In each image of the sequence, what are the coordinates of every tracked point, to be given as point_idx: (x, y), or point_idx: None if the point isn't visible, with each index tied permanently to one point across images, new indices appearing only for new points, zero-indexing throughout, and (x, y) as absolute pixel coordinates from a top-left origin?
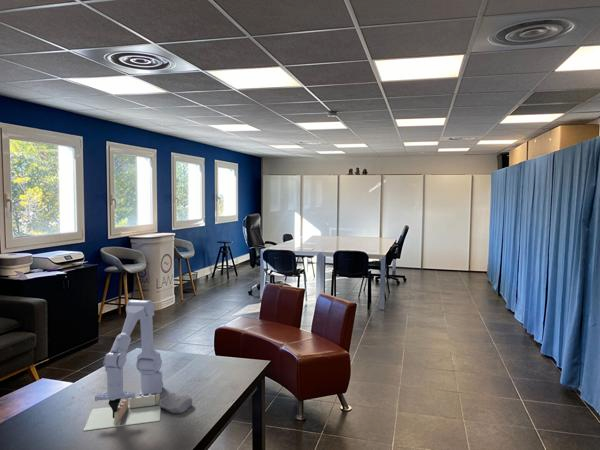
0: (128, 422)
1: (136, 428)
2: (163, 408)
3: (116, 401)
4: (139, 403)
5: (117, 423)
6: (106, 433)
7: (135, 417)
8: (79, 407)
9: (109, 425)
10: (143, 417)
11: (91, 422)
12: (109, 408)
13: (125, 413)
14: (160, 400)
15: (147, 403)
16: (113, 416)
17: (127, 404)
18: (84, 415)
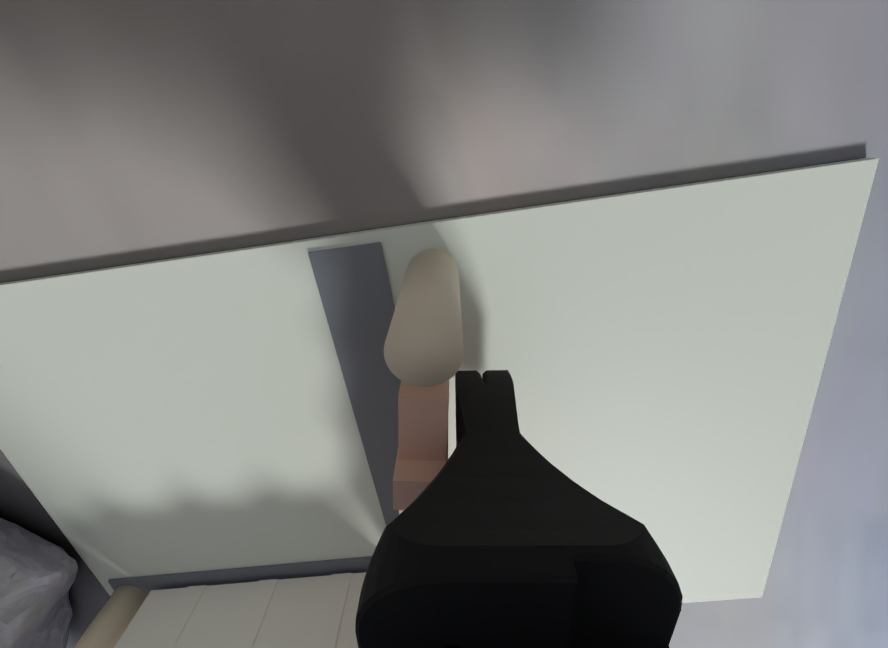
0: (289, 300)
1: (110, 134)
2: (17, 529)
3: (433, 620)
4: (281, 618)
5: (413, 259)
6: (519, 29)
7: (252, 404)
8: (871, 632)
9: (522, 252)
10: (154, 394)
11: (765, 359)
12: None
13: None
14: (13, 635)
15: (206, 613)
16: (499, 380)
17: None
18: (833, 513)
